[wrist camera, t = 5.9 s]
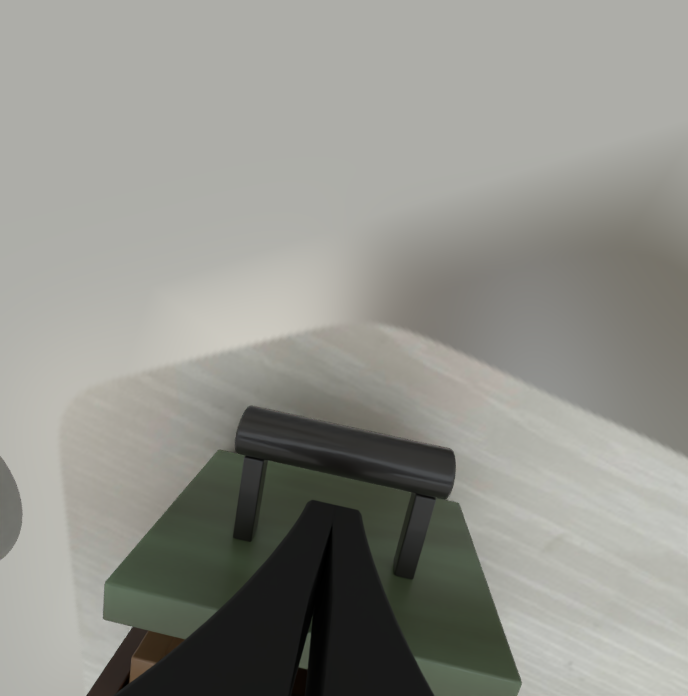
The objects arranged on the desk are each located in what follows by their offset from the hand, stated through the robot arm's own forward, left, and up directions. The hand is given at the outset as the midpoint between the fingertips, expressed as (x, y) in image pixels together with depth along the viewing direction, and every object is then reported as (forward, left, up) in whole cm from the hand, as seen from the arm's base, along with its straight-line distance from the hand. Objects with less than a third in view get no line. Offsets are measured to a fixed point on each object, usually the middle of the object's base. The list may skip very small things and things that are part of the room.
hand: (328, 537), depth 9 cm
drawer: (+3, -5, -6) cm, 8 cm away
